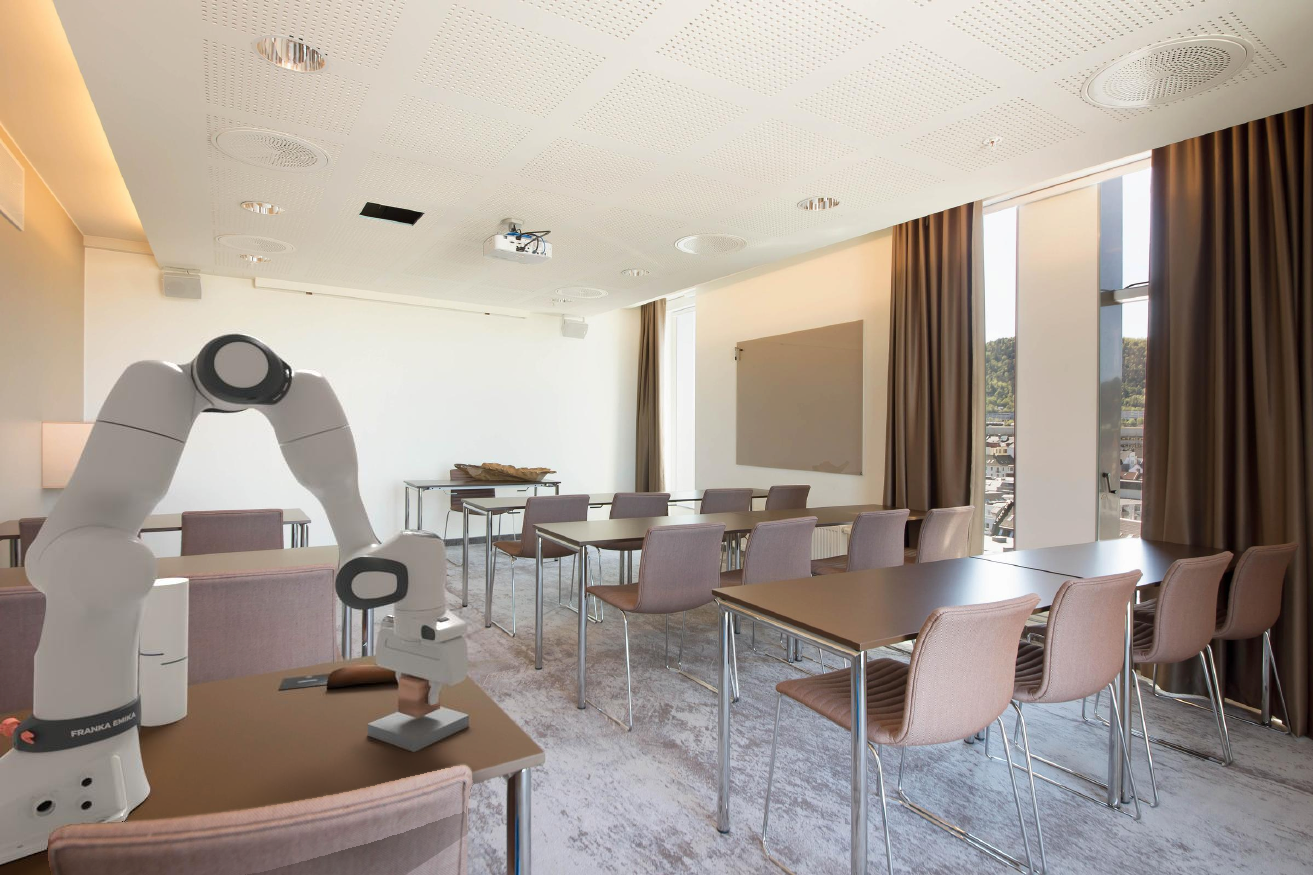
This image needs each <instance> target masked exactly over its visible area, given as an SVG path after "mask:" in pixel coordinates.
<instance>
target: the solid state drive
mask: <svg viewBox="0 0 1313 875" xmlns="http://www.w3.org/2000/svg"><path fill="white" fill-rule="evenodd" d="M329 674H330V673H322V674H314V675H306V676H305V675H304V676H296V677H295V676H294V677H286V678H283V679H282V681H281V683H280V685H279V688H278V691H286V690H296V689H297V690H298V689H306V688H314V687H315V688H316V687H323V686H327V680H328V676H329Z"/></svg>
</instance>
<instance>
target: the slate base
mask: <svg viewBox="0 0 1313 875" xmlns="http://www.w3.org/2000/svg"><path fill="white" fill-rule="evenodd" d="M469 726H470V714H468V713H463V712H461V711H457V710H454V709H450V708H446V707H444V706H442V705H440V709H438V710H436V711H433V712H431V713H429V714H426V715H424V716H422V717H419V718H415V717H412V716H409V715H406V714H402V713H399V712H398V711H396V712H394V713H391V714H388V715H386V716H384V717H382V718H379V719H376V720H374V721H372V722H369V723H367V736H368V737H372V738H374V739H376V740H379V741H382V742H384V743H387V744H390V745H394V746H396V747H398V748H401V749H404V750H406V751H409V752H413V753H415V752H418V751H420V750H421V749H424V748H426V747H428V746H430V745H432V744H435V743H436V742H437V743H438V741H441V740H443V739H445V738H447V737H449V736H452V735H453V734H455V733H457V732H460V731H462V730H463V729H466V728H468V727H469Z"/></svg>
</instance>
